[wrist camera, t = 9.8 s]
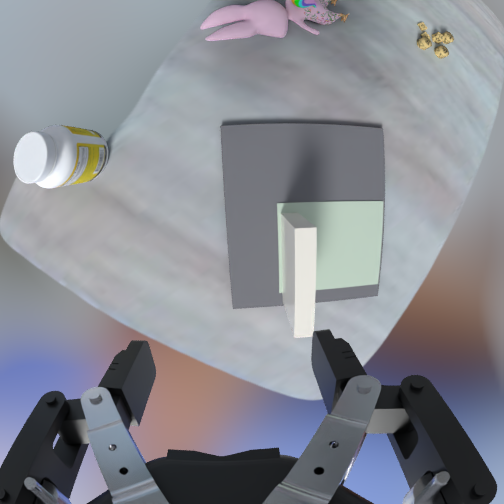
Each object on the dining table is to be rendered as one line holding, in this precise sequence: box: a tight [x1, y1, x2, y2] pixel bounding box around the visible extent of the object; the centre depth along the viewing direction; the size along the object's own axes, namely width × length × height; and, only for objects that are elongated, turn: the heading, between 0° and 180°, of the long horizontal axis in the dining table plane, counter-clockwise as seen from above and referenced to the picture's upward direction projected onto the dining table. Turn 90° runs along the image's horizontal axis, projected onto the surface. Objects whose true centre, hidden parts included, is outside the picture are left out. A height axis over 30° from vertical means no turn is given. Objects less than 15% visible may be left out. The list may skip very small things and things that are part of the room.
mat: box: [221, 123, 385, 309], centre depth 27 cm, size 18×16×1 cm
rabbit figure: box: [200, 0, 349, 41], centre depth 19 cm, size 6×6×15 cm
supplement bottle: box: [14, 125, 108, 188], centre depth 20 cm, size 5×5×10 cm
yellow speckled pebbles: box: [417, 23, 454, 59], centre depth 21 cm, size 5×5×2 cm
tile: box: [281, 212, 317, 338], centre depth 25 cm, size 7×2×9 cm
